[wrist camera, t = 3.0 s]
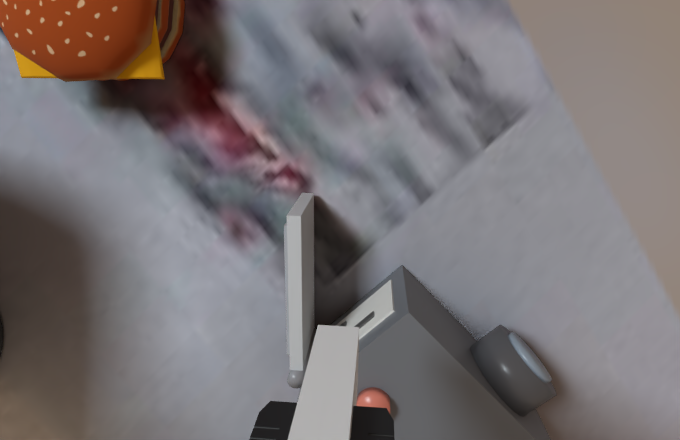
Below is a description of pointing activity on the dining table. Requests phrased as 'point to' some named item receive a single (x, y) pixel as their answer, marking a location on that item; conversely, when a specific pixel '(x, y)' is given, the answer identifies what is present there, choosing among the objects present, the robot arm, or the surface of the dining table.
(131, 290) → the dining table surface
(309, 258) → the side door
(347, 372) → the robot arm
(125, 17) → the hamburger
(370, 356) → the camera body
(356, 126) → the dining table surface
